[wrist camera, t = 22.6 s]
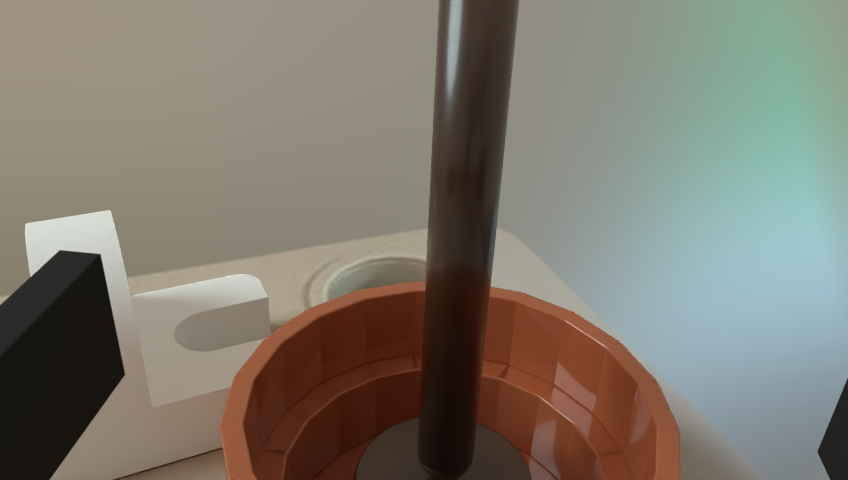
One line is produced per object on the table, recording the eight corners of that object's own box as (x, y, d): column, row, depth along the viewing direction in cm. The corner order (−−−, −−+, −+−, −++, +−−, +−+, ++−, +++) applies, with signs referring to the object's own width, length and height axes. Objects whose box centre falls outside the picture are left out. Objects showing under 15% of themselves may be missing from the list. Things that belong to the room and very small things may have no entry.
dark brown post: (536, 492, 25) (647, -184, 15) (506, 636, 20) (634, -187, 11) (387, 454, 26) (400, -195, 16) (327, 582, 21) (297, -202, 12)
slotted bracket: (258, 320, 33) (244, 157, 29) (308, 421, 28) (299, 239, 24) (-86, 400, 28) (-158, 215, 24) (-106, 543, 23) (-203, 335, 19)
